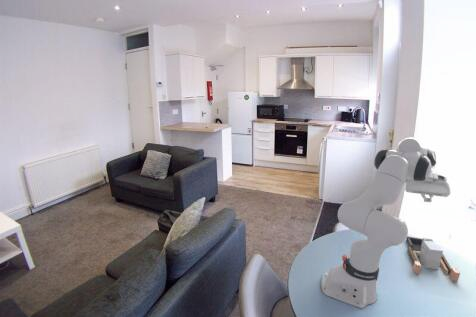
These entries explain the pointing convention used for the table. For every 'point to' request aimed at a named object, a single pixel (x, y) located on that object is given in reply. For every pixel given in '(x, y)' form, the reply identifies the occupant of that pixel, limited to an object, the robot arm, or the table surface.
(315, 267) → the table surface
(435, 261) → the small box
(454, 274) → the posts
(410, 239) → the dark grey tray
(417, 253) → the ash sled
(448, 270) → the walnut channel
